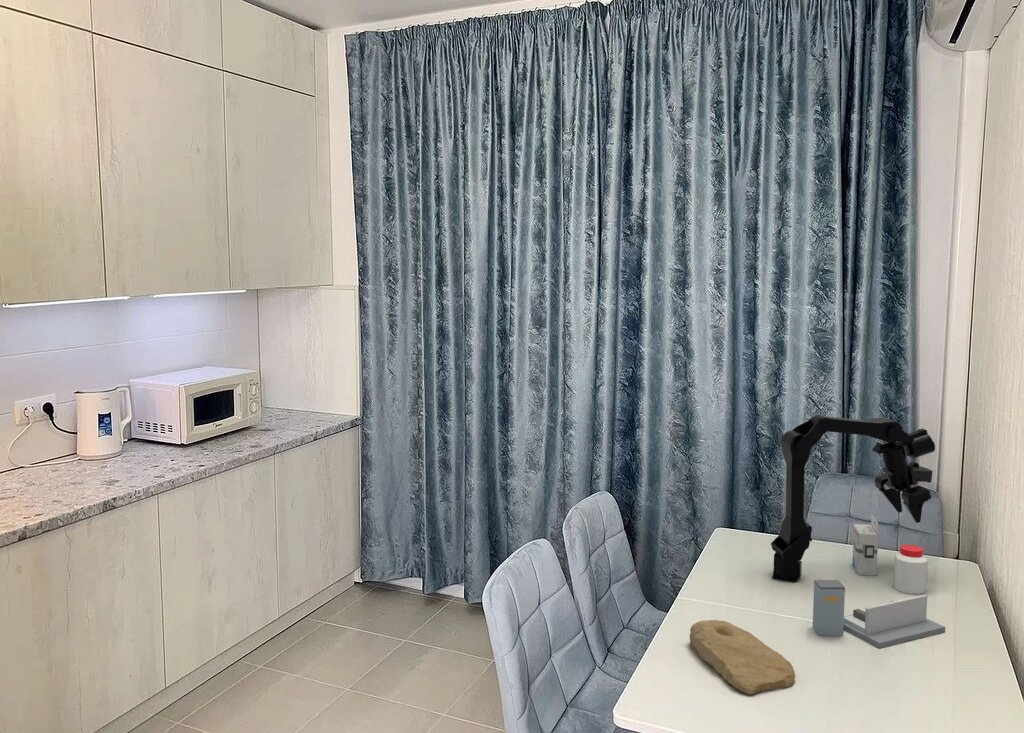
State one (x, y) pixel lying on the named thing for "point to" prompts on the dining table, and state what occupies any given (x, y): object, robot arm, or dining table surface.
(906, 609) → the grey holder stand
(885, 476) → the robot arm
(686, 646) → the dining table surface
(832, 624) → the block
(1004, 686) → the dining table surface
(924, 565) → the pill bottle
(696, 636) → the stone
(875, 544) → the ink box
